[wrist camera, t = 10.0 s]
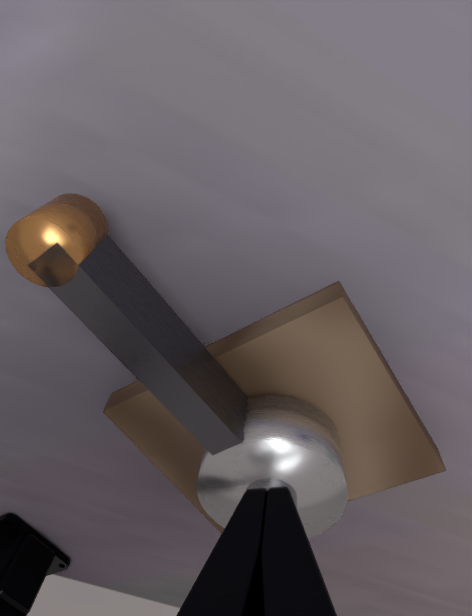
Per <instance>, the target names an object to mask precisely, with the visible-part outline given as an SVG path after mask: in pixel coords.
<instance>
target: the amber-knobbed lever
mask: <svg viewBox="0 0 472 616" xmlns="http://www.w3.org/2000/svg"><path fill="white" fill-rule="evenodd" d="M6 251H7V255H8V257H9V260H10V261H11V263H12V265H13V266H14V268H15V269H16V270H17V271H18V272H19V273H20V274H21V275H22V276H23V277H25V278H26V279H28V280H29V281H31V282H33V283H35V284H38V285H41V286H45V287H49V288H50V289H51V290H52V291H53V292H54V293H55V294H56V295H57V296H58V297H59V298H60V299H61V300H62V301H63V302H64V303H65V305H66V306H67V307H68V308H69V309H70V310H71V311H72V312H73V313H74V314H75V315H76V316H77V317H78V318H79V319H80V320H81V321H82V322H83V323H84V324H85V325H86V326H87V327H88V328H89V329H90V330H91V331H92V332H93V333H94V334H95V335H96V336H97V337H98V338H99V340H100V341H101V342H102V343H103V344H104V345H105V346H106V347H107V348H108V349H109V350H110V351H111V352H112V353H113V354H114V355H115V356H116V357H117V358H118V359H119V360H120V361H121V362H122V363H123V364H124V365H125V366H126V367H127V368H128V369H129V370H130V371H131V372H132V373H133V374H134V376H135V377H136V378H137V379H138V380H139V381H140V382H141V383H142V384H143V385H144V386H145V387H146V388H147V389H148V390H149V391H150V392H151V393H152V394H153V395H154V396H155V397H156V398H157V399H158V400H159V401H160V402H161V403H162V404H163V405H164V406H165V407H166V408H167V409H168V411H169V412H170V413H171V414H172V415H173V416H174V417H175V418H176V419H177V420H178V421H179V422H180V423H181V424H182V425H183V426H184V427H185V428H186V429H187V430H188V431H189V432H190V433H191V434H192V435H193V436H194V437H195V438H196V439H197V440H198V441H199V442H200V443H201V444H202V445H203V447H204V451H203V456H202V461H201V465H200V470H199V475H198V480H197V495H198V498H199V501H200V503H201V505H202V507H203V509H204V510H205V511H206V513H207V514H208V515H209V516H210V517H211V518H212V519H213V520H214V521H215V522H217V523H218V524H219V525H221V526H222V527H224V528H225V527H226V525H227V523H228V522H229V520H230V518H231V516H232V514H233V513H234V511H235V509H236V507H237V505H238V503H239V502H240V500H241V498H242V496H243V494H244V493H245V491H246V490H248V489H254V488H266V489H267V490H268V489H269V488H271V487H284V486H286V487H288V488H289V490H290V492H291V495H292V497H293V500H294V503H295V505H296V508H297V511H298V513H299V516H300V519H301V521H302V524H303V527H304V529H305V532H306V535H307V537H308V538H310V537H313V536H316V535H318V534H320V533H322V532H324V531H326V530H327V529H329V528H330V527H332V526H333V525H334V524H335V523H336V522H337V521H338V520H339V519H340V518H341V516H342V515H343V513H344V511H345V509H346V506H347V502H348V490H347V483H346V475H345V468H344V461H343V453H342V446H341V440H340V436H339V433H338V431H337V429H336V427H335V425H334V424H333V422H332V421H331V420H330V419H329V418H328V417H327V416H326V415H325V414H324V413H323V412H322V411H320V410H319V409H317V408H316V407H314V406H312V405H310V404H308V403H306V402H304V401H301V400H298V399H295V398H291V397H286V396H279V395H261V396H254V397H249V398H247V396H246V395H245V393H244V392H243V391H242V390H241V389H240V388H239V386H238V385H237V384H236V383H235V382H234V381H233V379H232V378H231V377H230V376H229V375H228V374H227V372H226V371H225V370H224V369H223V368H222V367H221V366H220V364H219V363H218V362H217V361H216V360H215V359H214V357H213V356H212V355H211V354H210V353H209V352H208V350H207V349H206V348H205V347H204V346H203V345H202V343H201V342H200V341H199V340H198V339H197V338H196V336H195V335H194V334H193V333H192V332H191V331H190V330H189V328H188V327H187V326H186V325H185V324H184V323H183V321H182V320H181V319H180V318H179V317H178V316H177V314H176V313H175V312H174V311H173V310H172V309H171V307H170V306H169V305H168V304H167V303H166V302H165V301H164V299H163V298H162V297H161V296H160V295H159V294H158V292H157V291H156V290H155V289H154V288H153V287H152V285H151V284H150V283H149V282H148V281H147V280H146V278H145V277H144V276H143V275H142V274H141V273H140V271H139V270H138V269H137V268H136V267H135V266H134V265H133V263H132V262H131V261H130V260H129V259H128V258H127V256H126V255H125V254H124V253H123V252H122V251H121V249H120V248H119V247H118V246H117V245H116V244H115V242H114V241H113V240H112V239H111V238H110V237H109V236H108V225H107V221H106V218H105V216H104V214H103V212H102V211H101V210H100V208H99V207H98V206H97V205H96V204H95V203H94V202H93V201H91V200H90V199H88V198H86V197H84V196H81V195H78V194H63V195H60V196H58V197H56V198H54V199H53V200H51V201H50V202H48V203H47V204H45V205H43V206H42V207H40V208H39V209H37V210H35V211H34V212H32V213H31V214H29V215H27V216H26V217H24V218H23V219H21V220H19V221H18V222H16V223H15V224H14V225H13V226H12V227H11V228H10V229H9V231H8V233H7V236H6Z"/></svg>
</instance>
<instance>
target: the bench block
mask: <svg viewBox="0 0 472 616" xmlns="http://www.w3.org/2000/svg"><path fill="white" fill-rule="evenodd" d="M205 348H206V349H207V350H208V352H209V353H210V354H211V355H212V356H213V357H214V359H215V360H216V361H217V362H218V363H219V364H220V366H221V367H222V368H223V369H224V370H225V371H226V372H227V374H228V375H229V376H230V377H231V378H232V379H233V381H234V382H235V383H236V384H237V385H238V386H239V388H240V389H241V390H242V391H243V392H244V393H245V395H246V396H247V398H249V397H254V396H261V395H279V396H286V397H291V398H295V399H298V400H301V401H304V402H306V403H308V404H310V405H312V406H314V407H316V408H317V409H319V410H320V411H322V412H323V413H324V414H325V415H326V416H327V417H328V418H329V419H330V420H331V421H332V422H333V424H334V425H335V427H336V429H337V431H338V433H339V436H340V440H341V446H342V453H343V461H344V468H345V475H346V483H347V490H348V501H349V500H352V499H356V498H359V497H362V496H365V495H369V494H372V493H375V492H378V491H382V490H385V489H388V488H391V487H395V486H398V485H401V484H404V483H408V482H411V481H414V480H417V479H421V478H424V477H427V476H430V475H434V474H437V473H440V472H444V471H446V469H445V467H444V464H443V461H442V459H441V456H440V453H439V451H438V448H437V447H436V445H435V443H434V442H433V440H432V438H431V436H430V435H429V433H428V431H427V430H426V428H425V426H424V425H423V423H422V421H421V419H420V418H419V416H418V414H417V413H416V411H415V409H414V408H413V406H412V404H411V402H410V401H409V399H408V397H407V396H406V394H405V392H404V391H403V389H402V387H401V385H400V384H399V382H398V380H397V379H396V377H395V375H394V374H393V372H392V370H391V368H390V367H389V365H388V363H387V362H386V360H385V358H384V357H383V355H382V353H381V351H380V350H379V348H378V346H377V345H376V343H375V341H374V340H373V338H372V336H371V334H370V333H369V331H368V329H367V328H366V326H365V324H364V323H363V321H362V319H361V317H360V316H359V314H358V312H357V311H356V309H355V307H354V306H353V304H352V302H351V301H350V299H349V297H348V295H347V294H346V292H345V290H344V289H343V287H342V285H341V284H340V282H339V281H338V282H336V283H334V284H332V285H330V286H328V287H326V288H324V289H322V290H320V291H318V292H316V293H314V294H312V295H310V296H308V297H306V298H304V299H302V300H300V301H298V302H296V303H294V304H292V305H290V306H288V307H286V308H284V309H282V310H280V311H278V312H276V313H274V314H272V315H269V316H267V317H265V318H263V319H261V320H259V321H257V322H255V323H253V324H251V325H249V326H247V327H245V328H243V329H241V330H239V331H237V332H235V333H233V334H231V335H229V336H227V337H225V338H223V339H221V340H219V341H217V342H215V343H213V344H211V345H209V346H207V347H205ZM103 413H104V414H105V415H106V416H107V417H108V418H109V419H110V420H111V421H112V422H113V423H114V424H115V425H116V426H117V427H118V428H119V429H120V430H121V431H122V432H123V433H124V434H125V435H126V436H127V437H128V438H129V439H130V440H131V441H132V442H133V443H134V444H135V445H136V446H137V447H138V448H139V449H140V450H141V452H142V453H143V454H144V455H145V456H146V457H147V458H148V459H149V460H150V461H151V462H152V463H153V464H154V465H155V466H156V467H157V468H158V469H159V470H160V471H161V472H162V473H163V474H164V475H165V476H166V477H167V478H168V479H169V480H170V481H171V482H172V483H173V484H174V485H175V486H176V487H177V488H178V489H179V490H180V491H181V492H182V493H183V494H184V496H185V497H186V498H187V499H188V500H189V501H190V502H191V503H192V504H193V505H194V506H195V507H196V508H197V509H198V510H199V511H200V512H201V513H202V514H203V515H204V516H205V517H206V518H207V519H208V520H209V521H210V522H211V523H212V524H213V525H214V526H215V527H216V528H217V529H218V530H219V531H220V532H221V533H222V532H223V531H224V529H225V528H224V527H222V526H221V525H219V524H218V523H217V522H215V521H214V520H213V519H212V518H211V517H210V516H209V515H208V514H207V513H206V511H205V510H204V509H203V507H202V505H201V503H200V501H199V498H198V495H197V480H198V475H199V470H200V465H201V461H202V456H203V451H204V447H203V445H202V444H201V443H200V442H199V441H198V440H197V439H196V438H195V437H194V436H193V435H192V434H191V433H190V432H189V431H188V430H187V429H186V428H185V427H184V426H183V425H182V424H181V423H180V422H179V421H178V420H177V419H176V418H175V417H174V416H173V415H172V414H171V413H170V412H169V411H168V409H167V408H166V407H165V406H164V405H163V404H162V403H161V402H160V401H159V400H158V399H157V398H156V397H155V396H154V395H153V394H152V393H151V392H150V391H149V390H148V389H147V388H146V387H145V386H144V385H143V384H142V383H141V382H140V381H139V380H138V381H136V382H134V383H132V384H130V385H128V386H126V387H124V388H122V389H120V390H118V391H116V392H114V393H112V395H111V397H110V399H109V401H108V403H107V404H106V406H105V408H104V410H103Z"/></svg>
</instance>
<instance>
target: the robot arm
mask: <svg viewBox="0 0 472 616" xmlns="http://www.w3.org/2000/svg"><path fill="white" fill-rule="evenodd" d="M69 564H70V560H69V559H68V558H67V557H65V556H64V555H63V554H62V553H61V552H59V551H58V550H57V549H56V548H54V547H53V546H52V545H51V544H49V543H48V542H47V541H46V540H44V539H43V538H42V537H41V536H39V535H38V534H37V533H36V532H34V531H33V530H32V529H31V528H29V527H28V526H27V525H26V524H24V523H23V522H22V521H21V520H19V519H18V518H17V517H16V516H14V515H11V514H6V515H3V516H1V517H0V616H27V614H28V613H29V611H30V609H31V607H32V605H33V603H34V601H35V599H36V597H37V594H38V592H39V590H40V588H41V585H42V583H43V581H44V579H45V577H46V576H47V575H51V574H54V573H57V572H60V571H63V570H66V569H68V566H69ZM177 616H337V615H336V612H335V609H334V607H333V604H332V601H331V599H330V596H329V593H328V591H327V588H326V585H325V583H324V580H323V577H322V575H321V572H320V569H319V567H318V564H317V561H316V559H315V556H314V553H313V551H312V548H311V545H310V543H309V540H308V537H307V535H306V532H305V529H304V527H303V524H302V521H301V519H300V516H299V513H298V511H297V508H296V505H295V503H294V500H293V497H292V495H291V492H290V490H289V488H288V487H286V486H284V487H271V488H269V489H268V490H267V489H266V488H254V489H248V490H246V491H245V493H244V494H243V496H242V498H241V500H240V502H239V503H238V505H237V507H236V509H235V511H234V513H233V514H232V516H231V518H230V520H229V522H228V523H227V525H226V527H225V529H224V531H223V532H222V534H221V536H220V538H219V540H218V541H217V543H216V545H215V547H214V549H213V551H212V552H211V554H210V556H209V558H208V560H207V561H206V563H205V565H204V567H203V569H202V570H201V572H200V574H199V576H198V578H197V579H196V581H195V583H194V585H193V587H192V588H191V590H190V592H189V594H188V596H187V598H186V599H185V601H184V603H183V605H182V607H181V608H180V610H179V612H178V614H177Z"/></svg>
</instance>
